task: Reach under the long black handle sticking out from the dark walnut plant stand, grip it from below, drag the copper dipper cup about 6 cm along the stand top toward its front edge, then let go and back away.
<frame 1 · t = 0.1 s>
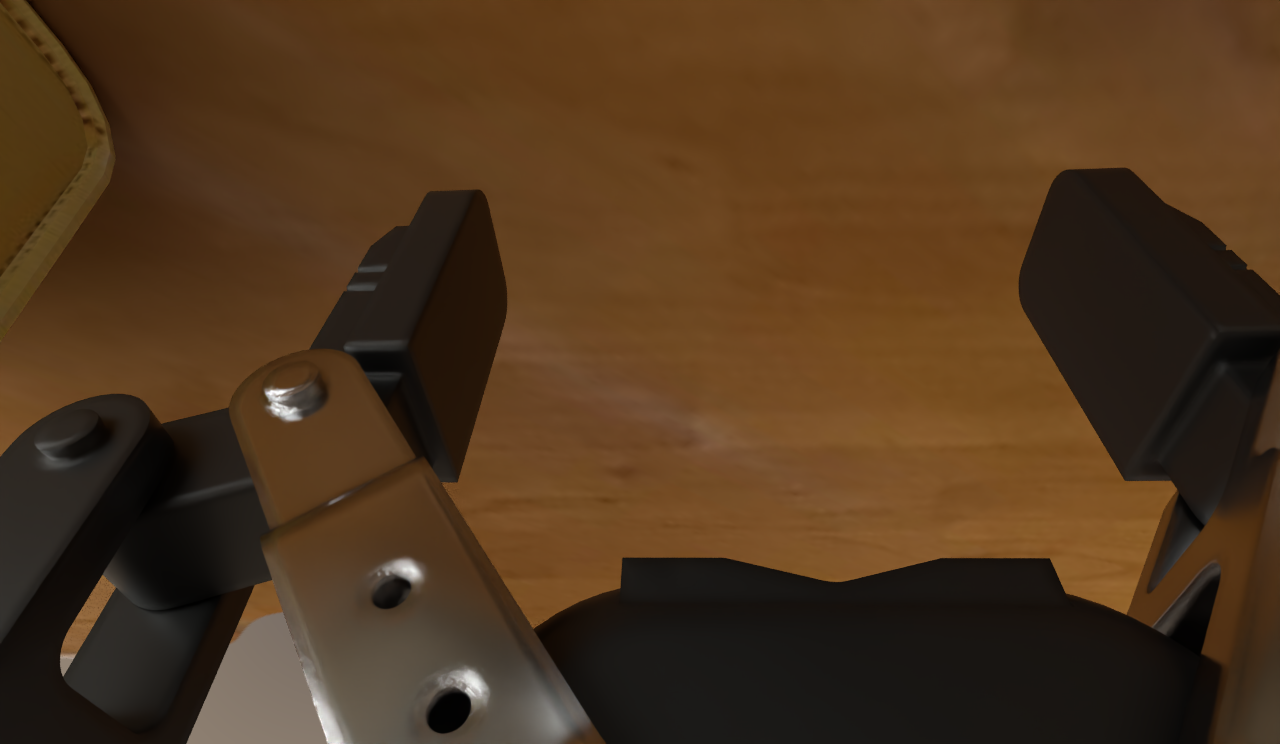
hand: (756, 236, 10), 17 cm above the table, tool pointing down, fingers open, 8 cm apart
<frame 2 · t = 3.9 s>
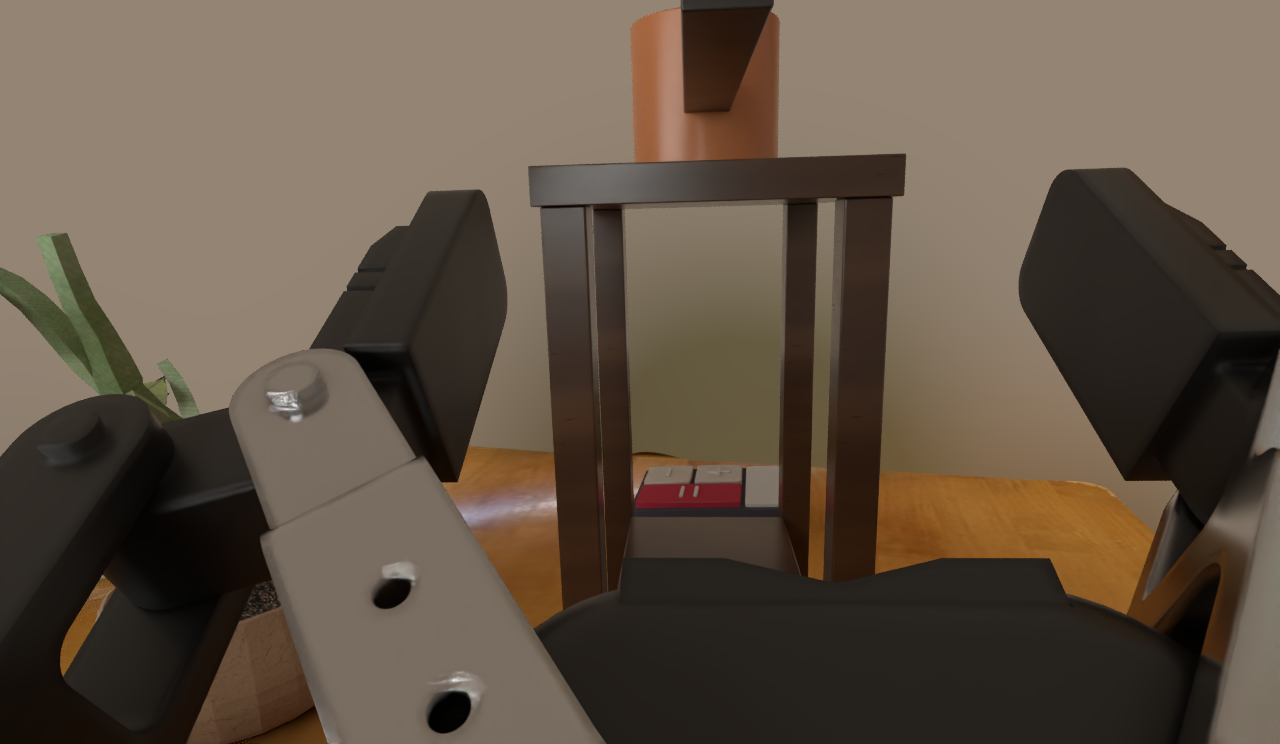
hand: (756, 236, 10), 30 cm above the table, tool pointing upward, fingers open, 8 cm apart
plant stand: (710, 731, 42), on the table
dipper cup: (705, 176, 38), point 32 cm above the table, touching plant stand
calculator: (713, 520, 71), on the table
potted plant: (211, 705, 46), on the table
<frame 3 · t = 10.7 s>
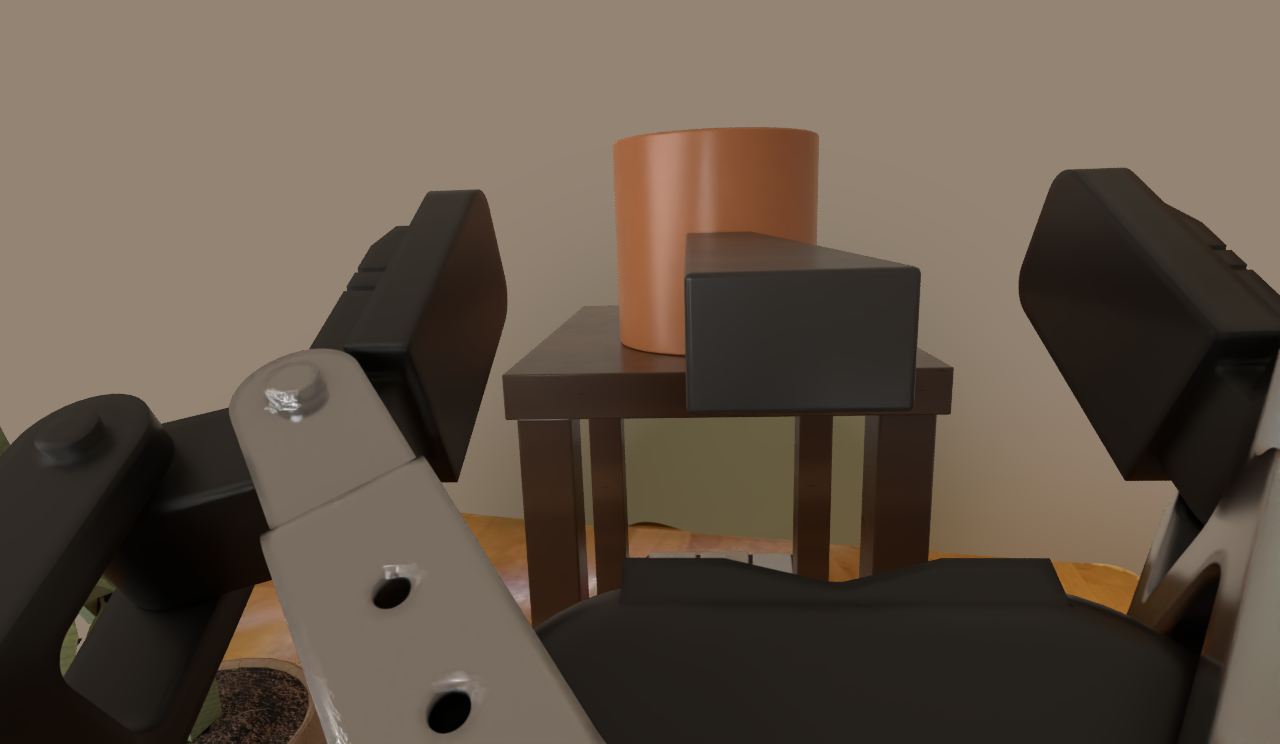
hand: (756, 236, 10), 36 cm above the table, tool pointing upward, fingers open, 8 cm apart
dipper cup: (716, 338, 28), point 32 cm above the table, touching plant stand
calculator: (718, 615, 67), on the table
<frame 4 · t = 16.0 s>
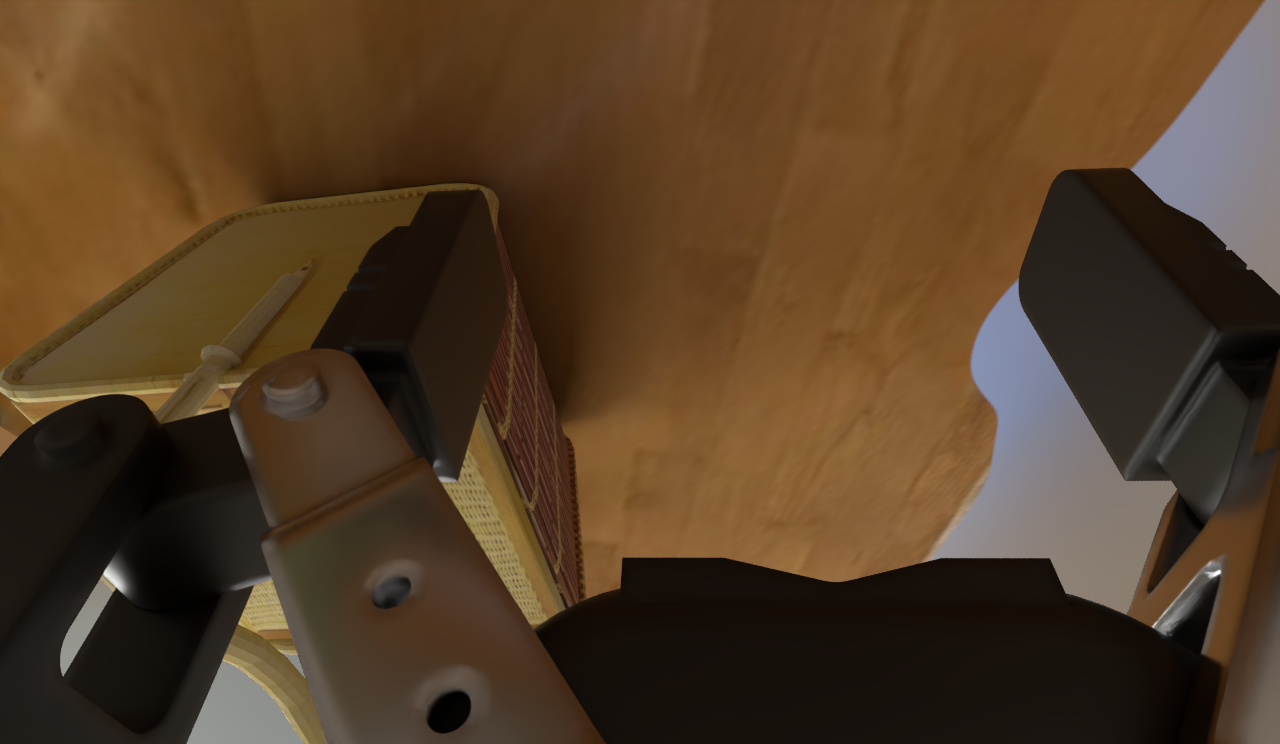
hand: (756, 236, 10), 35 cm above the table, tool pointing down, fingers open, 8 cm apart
picnic basket: (423, 328, 57), on the table
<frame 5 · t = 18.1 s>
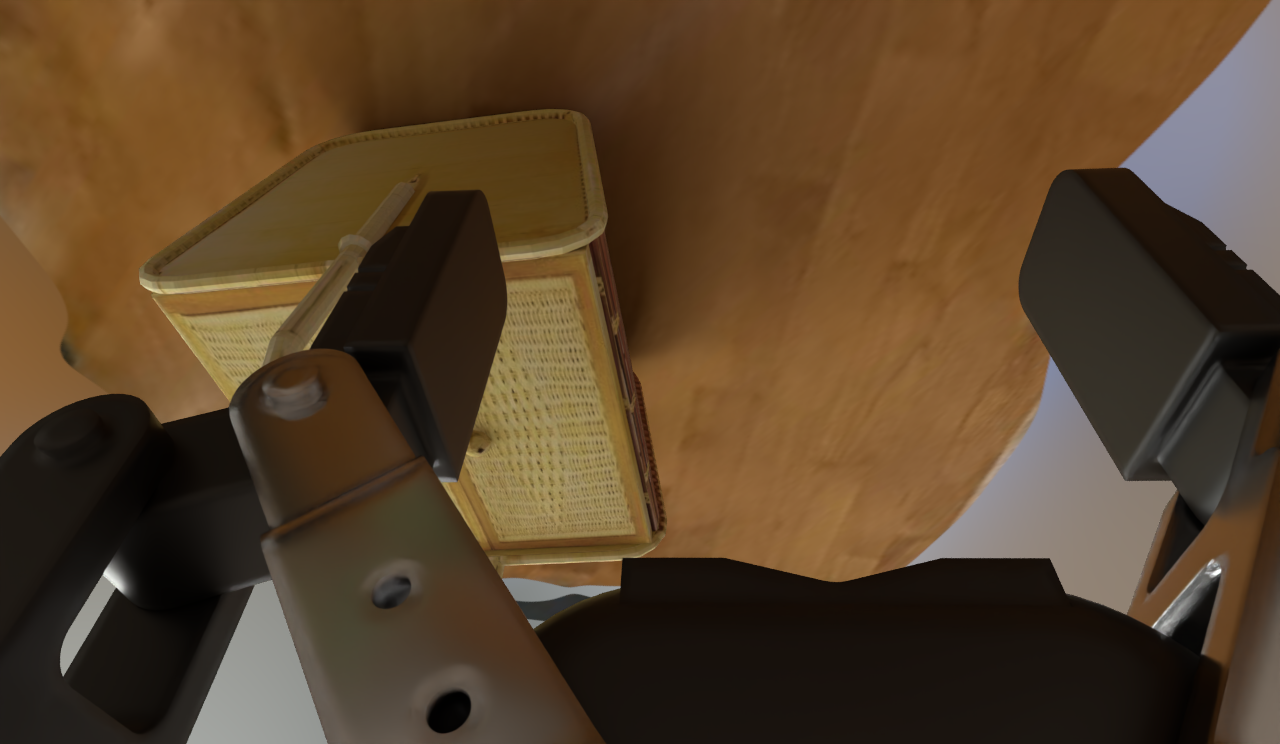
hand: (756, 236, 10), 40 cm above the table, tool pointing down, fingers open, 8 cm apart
picnic basket: (499, 262, 59), on the table
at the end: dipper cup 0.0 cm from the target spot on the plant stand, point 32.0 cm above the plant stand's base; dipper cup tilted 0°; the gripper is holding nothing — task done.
